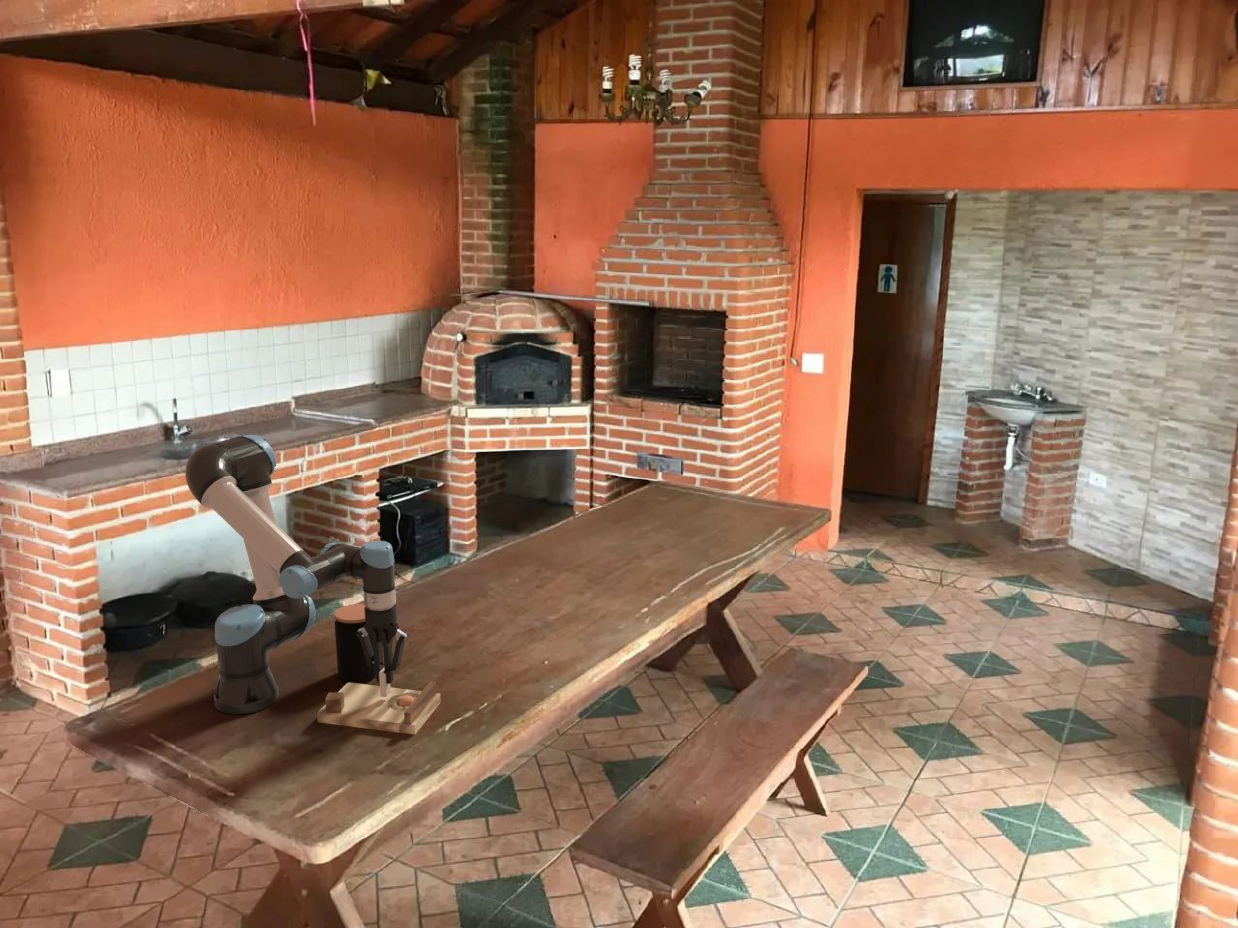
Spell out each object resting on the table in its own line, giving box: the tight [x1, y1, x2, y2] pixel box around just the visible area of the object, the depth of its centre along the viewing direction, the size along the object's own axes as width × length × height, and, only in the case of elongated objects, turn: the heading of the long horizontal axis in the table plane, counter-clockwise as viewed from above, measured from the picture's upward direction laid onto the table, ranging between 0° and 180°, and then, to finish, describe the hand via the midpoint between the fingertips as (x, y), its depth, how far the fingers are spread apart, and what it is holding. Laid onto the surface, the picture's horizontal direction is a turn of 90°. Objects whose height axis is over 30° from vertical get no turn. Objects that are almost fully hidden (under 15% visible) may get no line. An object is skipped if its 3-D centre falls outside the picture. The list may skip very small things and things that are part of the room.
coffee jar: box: [333, 603, 376, 684], centre depth 265 cm, size 11×11×18 cm
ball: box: [399, 695, 414, 707], centre depth 248 cm, size 4×4×4 cm
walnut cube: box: [324, 691, 344, 713], centre depth 244 cm, size 4×4×4 cm
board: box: [316, 680, 442, 736], centre depth 248 cm, size 25×16×6 cm, turn 78°
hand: (385, 694), depth 249 cm, fingers closed
